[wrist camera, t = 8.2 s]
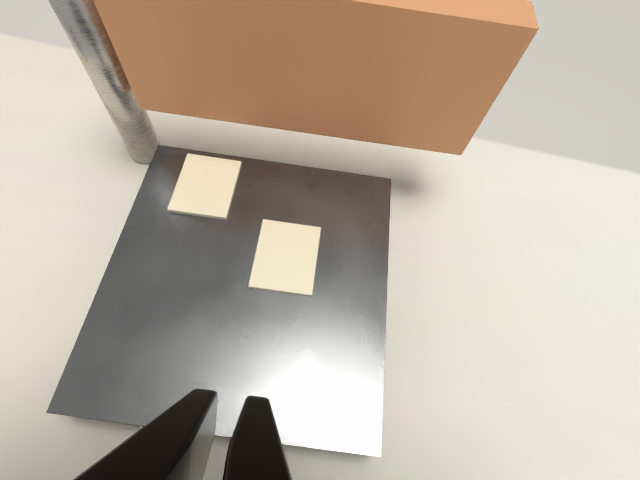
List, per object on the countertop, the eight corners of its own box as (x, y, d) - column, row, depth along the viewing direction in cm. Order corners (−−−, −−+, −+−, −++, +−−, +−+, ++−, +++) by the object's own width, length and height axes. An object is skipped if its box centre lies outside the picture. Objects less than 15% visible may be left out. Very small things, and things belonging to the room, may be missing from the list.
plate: (369, 455, 15) (492, 474, 6) (14, 408, 15) (-388, 357, 6) (382, 175, 21) (451, -11, 13) (137, 139, 21) (33, -76, 12)
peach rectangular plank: (460, 155, 17) (538, 28, 12) (140, 108, 17) (75, -42, 12) (458, 130, 18) (531, 1, 13) (151, 85, 18) (94, -66, 12)
